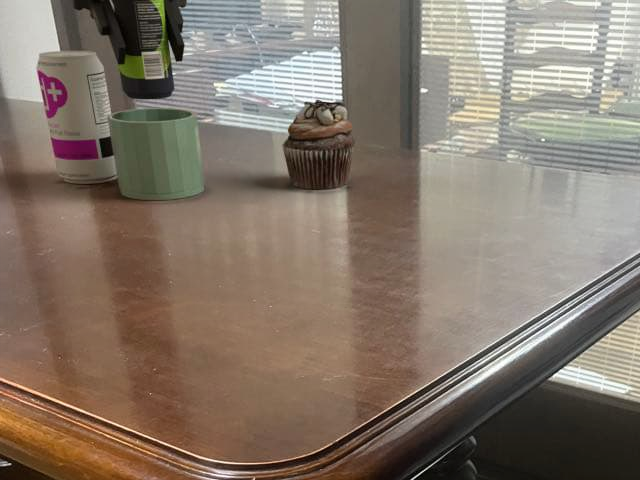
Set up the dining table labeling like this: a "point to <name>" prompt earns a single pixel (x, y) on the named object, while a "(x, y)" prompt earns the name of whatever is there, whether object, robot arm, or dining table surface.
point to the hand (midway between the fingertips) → (151, 54)
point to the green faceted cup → (157, 153)
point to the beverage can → (144, 49)
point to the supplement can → (77, 115)
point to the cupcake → (319, 146)
